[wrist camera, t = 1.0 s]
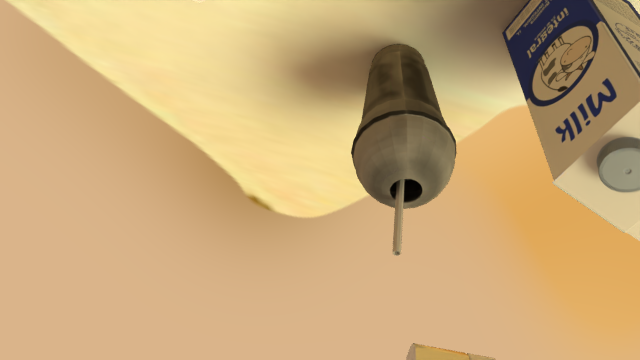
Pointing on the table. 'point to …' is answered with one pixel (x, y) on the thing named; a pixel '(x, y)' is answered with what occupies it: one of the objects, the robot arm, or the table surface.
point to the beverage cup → (402, 135)
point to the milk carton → (585, 99)
